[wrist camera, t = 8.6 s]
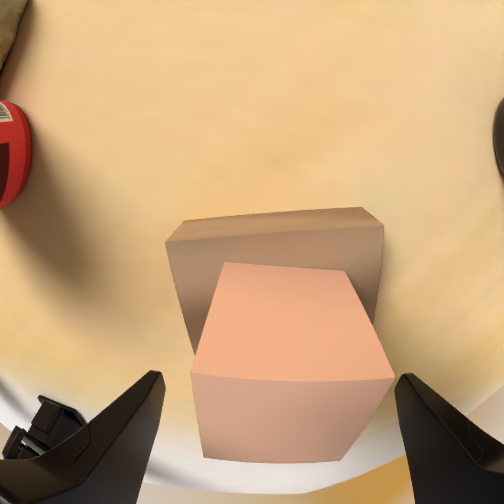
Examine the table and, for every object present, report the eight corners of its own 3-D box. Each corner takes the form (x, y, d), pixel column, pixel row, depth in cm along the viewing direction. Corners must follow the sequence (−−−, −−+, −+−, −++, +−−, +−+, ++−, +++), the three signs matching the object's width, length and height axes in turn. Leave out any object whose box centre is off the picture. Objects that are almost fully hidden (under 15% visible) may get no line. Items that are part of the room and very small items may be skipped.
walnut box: (348, 339, 17) (361, 377, 14) (214, 349, 18) (205, 388, 15) (358, 204, 14) (384, 225, 10) (186, 217, 14) (165, 242, 11)
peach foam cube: (321, 357, 13) (340, 460, 8) (223, 352, 13) (203, 457, 8) (344, 270, 11) (395, 377, 6) (224, 261, 11) (190, 372, 6)
